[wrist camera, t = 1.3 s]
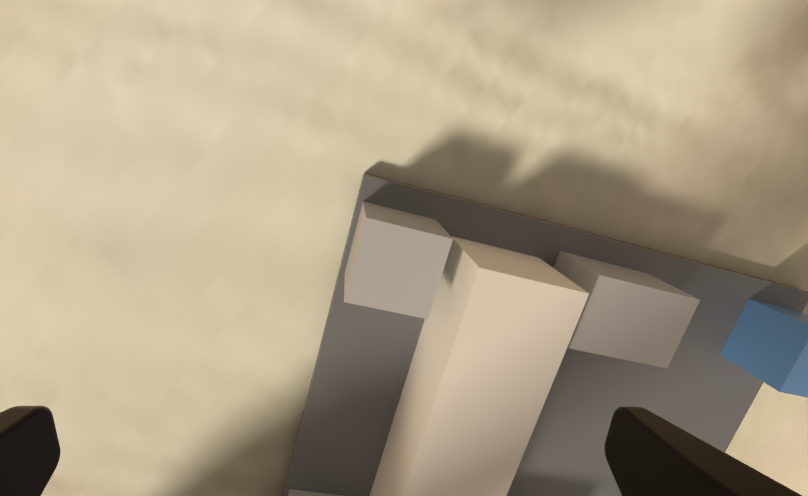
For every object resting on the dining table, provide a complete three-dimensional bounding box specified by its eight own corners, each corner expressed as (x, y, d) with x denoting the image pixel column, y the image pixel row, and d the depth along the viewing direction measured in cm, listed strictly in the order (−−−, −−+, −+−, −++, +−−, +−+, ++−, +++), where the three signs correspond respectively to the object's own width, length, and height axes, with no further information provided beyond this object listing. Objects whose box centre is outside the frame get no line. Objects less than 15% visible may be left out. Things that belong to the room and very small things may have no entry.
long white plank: (431, 545, 22) (449, 635, 18) (356, 538, 21) (357, 629, 17) (538, 257, 18) (589, 293, 14) (450, 235, 17) (479, 267, 14)
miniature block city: (643, 577, 26) (689, 648, 22) (270, 542, 21) (255, 622, 18) (799, 288, 21) (887, 321, 18) (363, 172, 17) (367, 185, 13)
